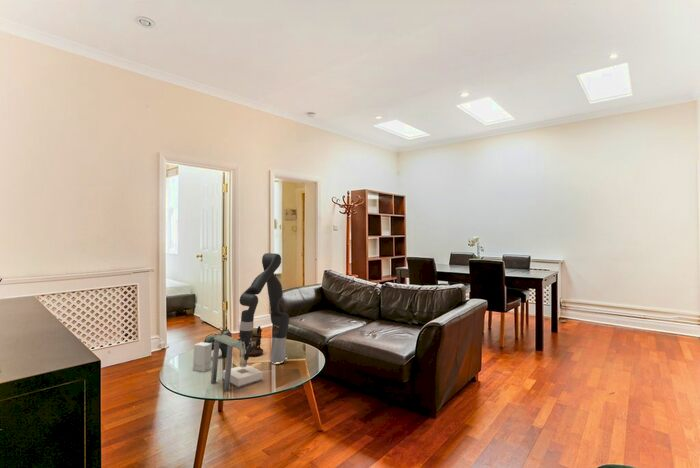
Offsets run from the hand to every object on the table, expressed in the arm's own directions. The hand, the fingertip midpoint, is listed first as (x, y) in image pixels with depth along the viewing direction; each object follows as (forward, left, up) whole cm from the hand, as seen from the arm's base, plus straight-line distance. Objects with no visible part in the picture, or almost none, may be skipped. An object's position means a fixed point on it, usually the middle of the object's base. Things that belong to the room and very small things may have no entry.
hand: (243, 358), depth 198 cm
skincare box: (+9, -29, -12) cm, 33 cm away
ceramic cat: (-8, -42, -12) cm, 45 cm away
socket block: (0, 0, -12) cm, 12 cm away
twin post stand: (+11, 0, -12) cm, 17 cm away
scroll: (-32, -35, -12) cm, 49 cm away
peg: (0, 0, -4) cm, 4 cm away
